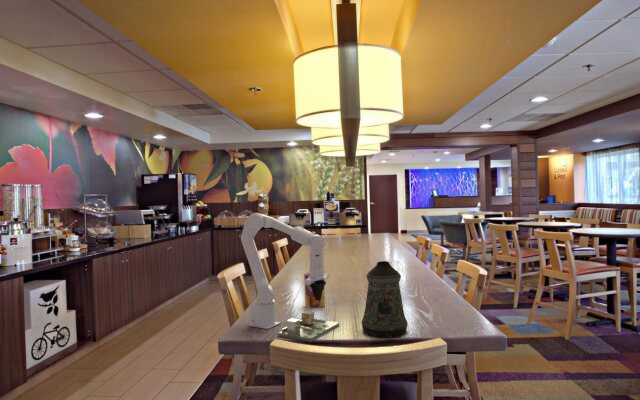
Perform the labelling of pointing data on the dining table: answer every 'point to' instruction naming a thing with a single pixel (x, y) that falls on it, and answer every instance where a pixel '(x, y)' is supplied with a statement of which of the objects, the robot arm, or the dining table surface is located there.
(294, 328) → the fixed leg
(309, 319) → the slider
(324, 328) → the bolt plate
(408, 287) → the dining table surface
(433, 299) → the dining table surface
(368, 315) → the beer stein
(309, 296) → the candy box
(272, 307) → the robot arm
